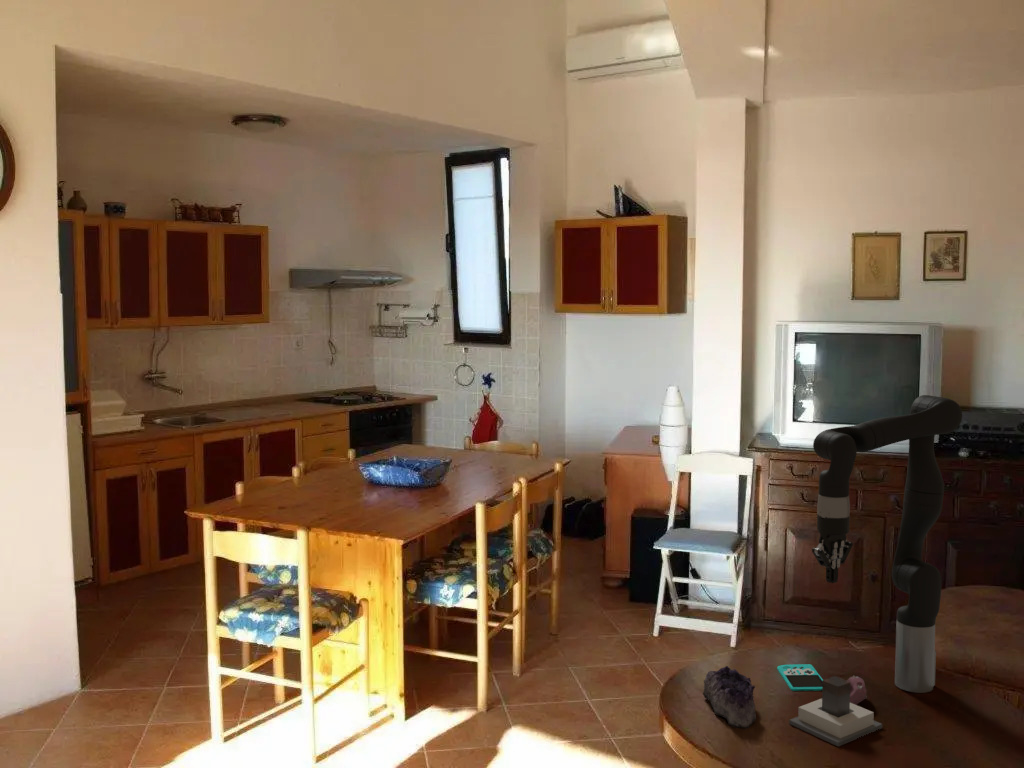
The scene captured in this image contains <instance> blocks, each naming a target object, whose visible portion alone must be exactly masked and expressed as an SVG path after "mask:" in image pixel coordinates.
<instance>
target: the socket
mask: <svg viewBox="0 0 1024 768" xmlns="http://www.w3.org/2000/svg"><path fill="white" fill-rule="evenodd" d="M797 713H798V716H795V717H793V718H791V719H788V720H789V721H788V723H789V724H788V725H791V726H794V727H795V728H797V729H799V730H801V731H803V732H805V733H808V734H810V735H812V736H814V737H817V738H819V739H821V740H823V741H825V742H827V743H830V744H832V745H834V746H836V747H841V746H844V745H845V744H848V743H851V742H853V741H855V740H857V738H858V739H860V738H862V737H865V736H867V735H869V733H870V734H871V732H872V733H874V732H876V730H877V731H879V730H881V729H883V723H881V722H879V721H876V720H874V716H875V715H874V713H875V712H874V711H871V710H869V709H866V708H864V707H862V706H860V705H858V704H857V705H855V704H852V703H850V712H849V714H846V715H844V716H841V717H839V718H838V717H836V716H833V715H831V714H829V713H826V712H824V711H822V698H819V699H817V700H814V701H811V702H808V703H806V704H803V705H801V706H798V712H797ZM878 729H879V730H878ZM866 734H867V735H866ZM864 735H865V736H864ZM861 736H862V737H861ZM859 737H860V738H859Z"/></svg>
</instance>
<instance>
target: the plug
mask: <svg viewBox="0 0 1024 768" xmlns="http://www.w3.org/2000/svg"><path fill="white" fill-rule="evenodd" d="M850 692H851V691H850V682H849V681H847V680H846V679H843V678H841V677H839V676H835V675H834V676H831V677H829V678H825V679H823V685H822V690H821V695H822V696H821V697H822V711H824V712H826V713H829V714H831V715H833V716H836V717H838V718H839V717H841V716H844V715H846V714H849V712H850Z"/></svg>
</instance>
